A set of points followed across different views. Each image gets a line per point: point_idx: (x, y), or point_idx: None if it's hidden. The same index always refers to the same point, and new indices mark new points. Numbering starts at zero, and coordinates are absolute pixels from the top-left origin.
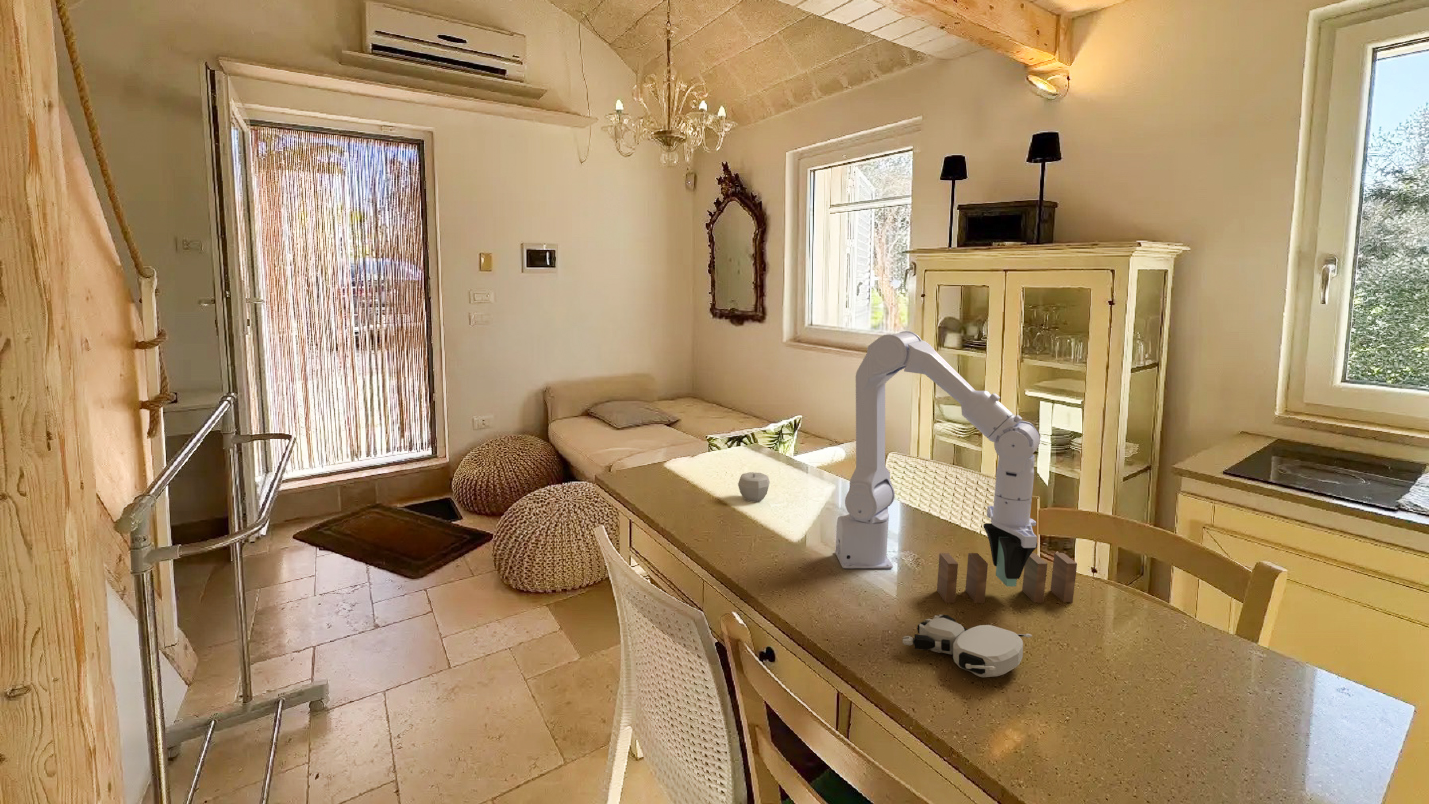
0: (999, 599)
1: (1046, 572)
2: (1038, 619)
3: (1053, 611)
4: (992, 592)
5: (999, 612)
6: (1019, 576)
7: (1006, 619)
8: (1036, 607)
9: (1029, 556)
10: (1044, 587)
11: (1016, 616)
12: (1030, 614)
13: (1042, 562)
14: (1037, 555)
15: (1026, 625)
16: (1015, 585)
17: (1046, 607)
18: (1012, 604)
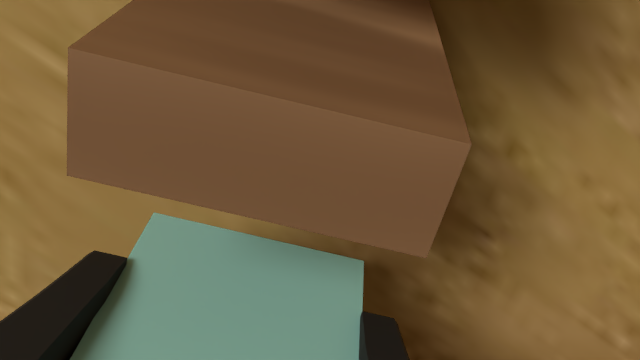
0: (303, 241)
1: (452, 86)
2: (610, 196)
3: (573, 19)
4: (205, 222)
5: (445, 331)
6: (401, 340)
7: (525, 345)
8: (473, 97)
9: (182, 199)
10: (434, 31)
11: (521, 284)
12: (536, 198)
13: (413, 180)
14: (169, 80)
15: (629, 300)
16: (360, 268)
17: (501, 26)
18: None
